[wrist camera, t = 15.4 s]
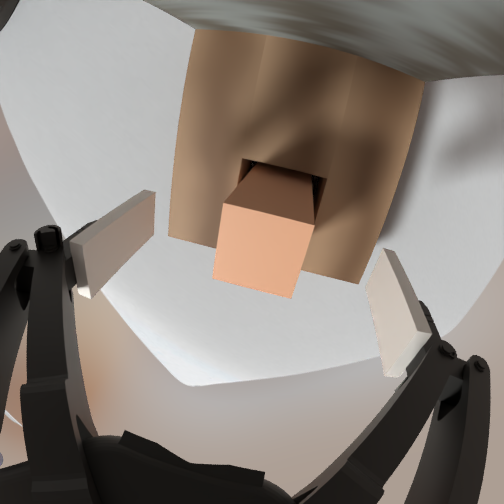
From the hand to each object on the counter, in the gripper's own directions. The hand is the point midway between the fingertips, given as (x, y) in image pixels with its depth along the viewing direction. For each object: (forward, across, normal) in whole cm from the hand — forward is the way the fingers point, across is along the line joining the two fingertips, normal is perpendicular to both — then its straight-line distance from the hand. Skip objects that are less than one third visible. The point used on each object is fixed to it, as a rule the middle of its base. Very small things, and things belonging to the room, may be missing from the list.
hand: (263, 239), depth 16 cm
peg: (+11, 0, 0) cm, 11 cm away
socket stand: (+11, 0, +4) cm, 11 cm away
